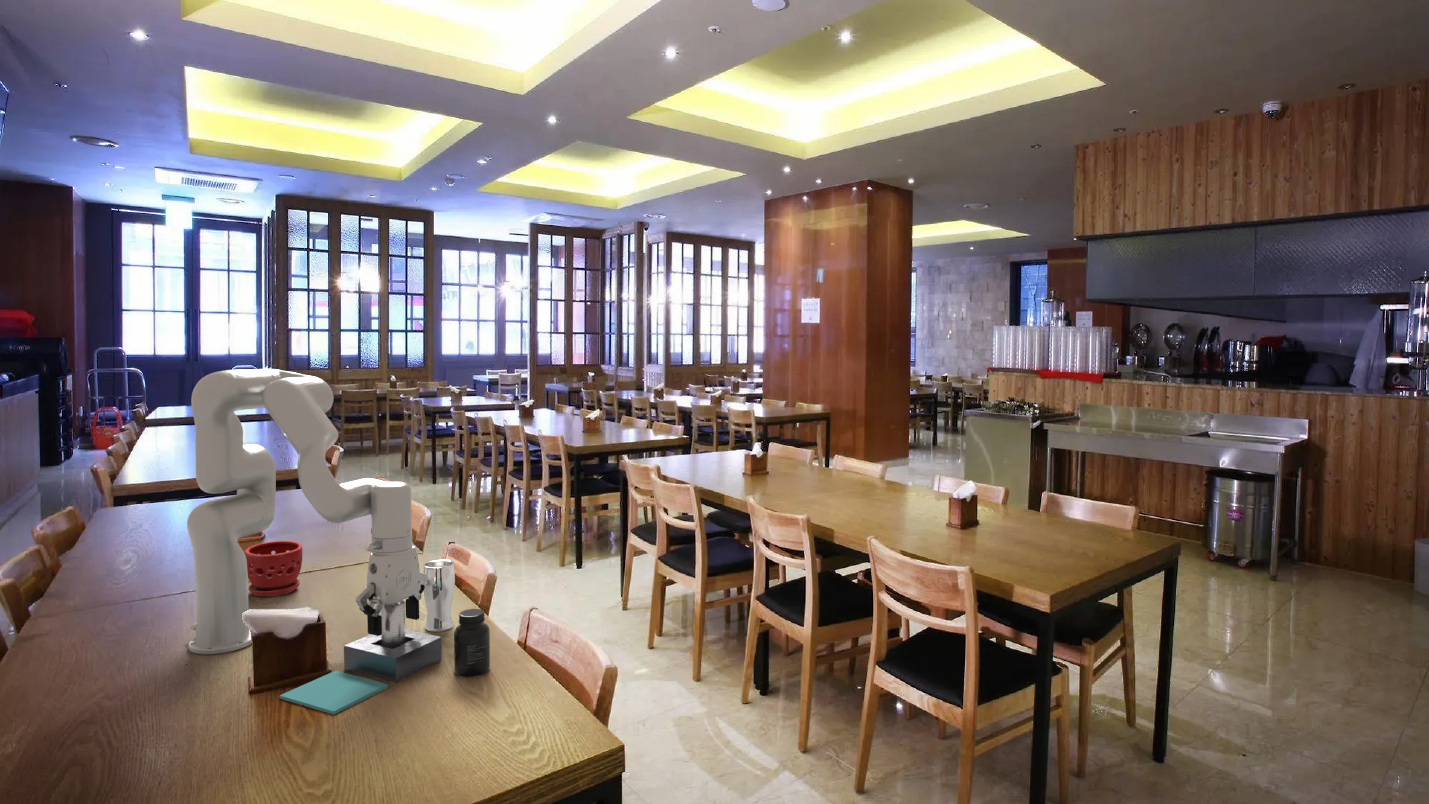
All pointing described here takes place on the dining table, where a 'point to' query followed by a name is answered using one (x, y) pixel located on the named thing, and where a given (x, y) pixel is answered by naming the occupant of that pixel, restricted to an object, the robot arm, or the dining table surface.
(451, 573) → the beer glass
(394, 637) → the steel peg
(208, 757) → the dining table surface
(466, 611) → the supplement bottle
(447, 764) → the dining table surface
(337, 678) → the teal mat
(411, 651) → the block
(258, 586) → the plant pot
